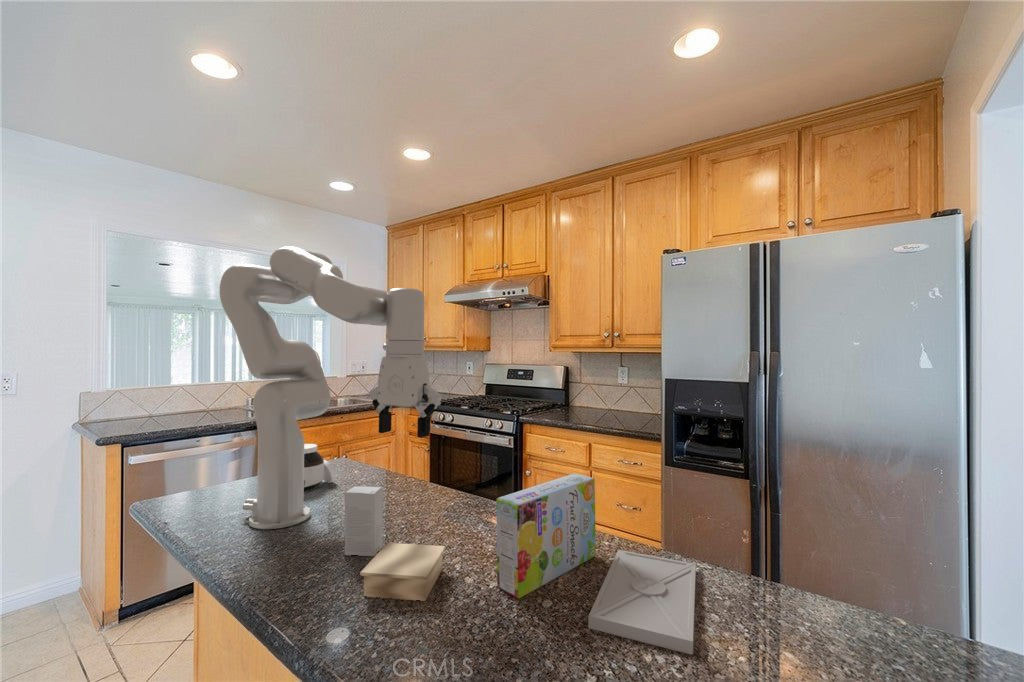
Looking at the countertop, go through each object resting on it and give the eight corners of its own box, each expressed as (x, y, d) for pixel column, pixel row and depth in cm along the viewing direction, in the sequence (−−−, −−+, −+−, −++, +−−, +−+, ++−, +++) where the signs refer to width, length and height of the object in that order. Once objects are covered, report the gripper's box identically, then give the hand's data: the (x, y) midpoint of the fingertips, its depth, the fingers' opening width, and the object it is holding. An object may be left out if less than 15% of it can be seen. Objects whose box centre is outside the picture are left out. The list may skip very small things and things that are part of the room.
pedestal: (360, 597, 70) (360, 572, 70) (387, 564, 81) (387, 542, 81) (426, 602, 69) (426, 576, 69) (445, 568, 80) (445, 546, 80)
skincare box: (383, 547, 88) (383, 486, 88) (374, 557, 84) (375, 493, 84) (353, 545, 89) (354, 485, 89) (343, 555, 85) (344, 492, 85)
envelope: (695, 574, 80) (618, 560, 85) (695, 562, 80) (618, 548, 85) (692, 656, 58) (588, 629, 63) (692, 639, 58) (588, 613, 63)
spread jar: (278, 491, 122) (278, 448, 123) (303, 479, 134) (304, 440, 134) (318, 493, 120) (318, 450, 121) (340, 481, 132) (341, 441, 132)
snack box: (573, 547, 89) (573, 471, 89) (597, 557, 85) (597, 477, 85) (494, 587, 74) (495, 496, 74) (518, 601, 70) (519, 504, 70)
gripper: (359, 349, 91) (357, 433, 91) (429, 350, 83) (428, 442, 83) (384, 349, 98) (382, 427, 97) (451, 350, 90) (450, 435, 90)
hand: (403, 434), depth 90 cm, fingers open, 9 cm apart
